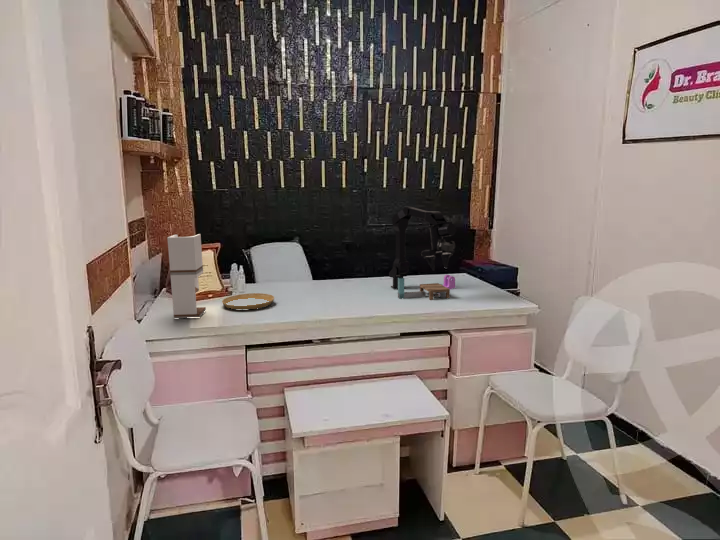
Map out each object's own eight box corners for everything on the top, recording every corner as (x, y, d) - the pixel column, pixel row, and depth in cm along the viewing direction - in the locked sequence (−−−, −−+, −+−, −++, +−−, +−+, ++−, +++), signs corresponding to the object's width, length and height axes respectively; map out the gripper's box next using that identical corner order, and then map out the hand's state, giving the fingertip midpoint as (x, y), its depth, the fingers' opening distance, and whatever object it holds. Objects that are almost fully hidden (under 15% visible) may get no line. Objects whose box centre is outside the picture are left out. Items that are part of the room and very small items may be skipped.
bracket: (449, 286, 265) (449, 274, 264) (455, 288, 260) (455, 276, 259) (428, 289, 260) (428, 276, 259) (433, 291, 255) (433, 278, 254)
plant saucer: (222, 314, 215) (221, 306, 214) (222, 301, 238) (222, 295, 237) (277, 309, 221) (276, 302, 220) (272, 298, 244) (271, 291, 243)
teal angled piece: (397, 297, 241) (397, 277, 239) (424, 295, 244) (424, 276, 242) (399, 298, 239) (399, 278, 237) (425, 296, 242) (426, 277, 240)
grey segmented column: (199, 318, 207) (193, 237, 201) (174, 319, 206) (167, 237, 200) (205, 311, 218) (200, 234, 212) (181, 312, 217) (175, 234, 211)
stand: (419, 293, 250) (419, 284, 249) (437, 292, 252) (438, 283, 251) (430, 299, 236) (430, 290, 235) (449, 298, 238) (449, 289, 237)
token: (428, 295, 246) (428, 293, 246) (437, 295, 247) (438, 292, 247) (432, 297, 241) (432, 295, 241) (441, 297, 242) (441, 294, 242)
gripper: (437, 237, 223) (440, 271, 224) (462, 234, 235) (465, 266, 236) (419, 239, 231) (422, 271, 232) (444, 236, 243) (447, 267, 244)
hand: (439, 269), depth 236 cm, fingers open, 9 cm apart
